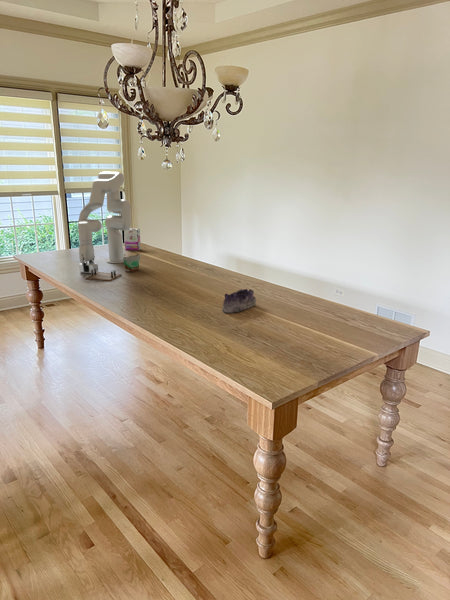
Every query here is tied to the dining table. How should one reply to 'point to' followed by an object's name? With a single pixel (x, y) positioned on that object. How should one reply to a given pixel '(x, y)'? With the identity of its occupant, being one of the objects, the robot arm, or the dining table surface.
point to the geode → (238, 301)
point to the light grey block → (89, 267)
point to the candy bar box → (132, 239)
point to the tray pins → (111, 272)
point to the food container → (131, 263)
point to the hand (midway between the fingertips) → (88, 270)
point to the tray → (103, 277)
